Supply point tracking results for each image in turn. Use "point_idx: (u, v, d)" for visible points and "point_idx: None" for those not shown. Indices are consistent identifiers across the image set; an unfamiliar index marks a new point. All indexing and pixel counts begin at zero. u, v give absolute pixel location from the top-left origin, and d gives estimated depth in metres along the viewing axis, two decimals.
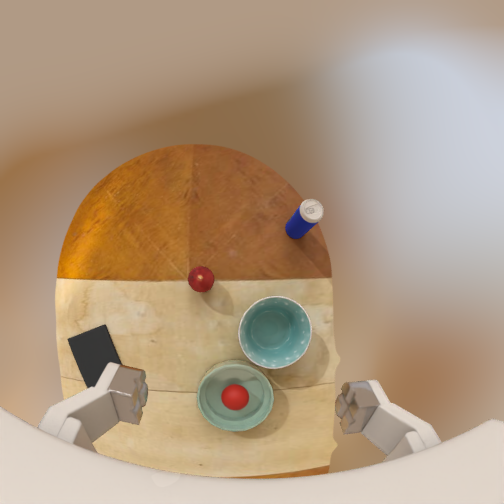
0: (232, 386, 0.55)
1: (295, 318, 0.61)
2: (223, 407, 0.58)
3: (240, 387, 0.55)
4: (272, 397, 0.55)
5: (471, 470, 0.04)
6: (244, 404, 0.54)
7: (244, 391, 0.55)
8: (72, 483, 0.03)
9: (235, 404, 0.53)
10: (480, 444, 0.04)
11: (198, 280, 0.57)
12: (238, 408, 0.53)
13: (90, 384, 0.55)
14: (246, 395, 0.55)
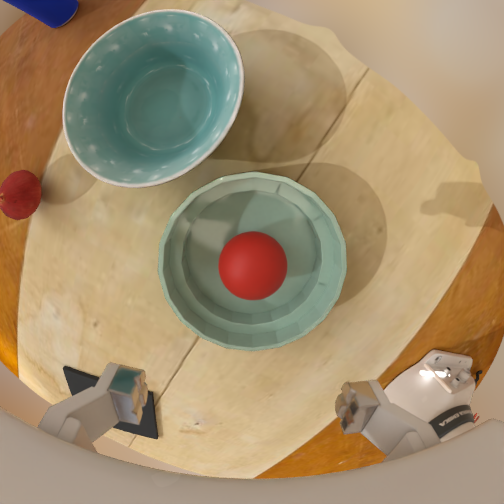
0: (221, 257, 0.24)
1: (166, 45, 0.19)
2: None
3: (233, 242, 0.24)
4: (305, 191, 0.22)
5: (471, 470, 0.04)
6: (276, 262, 0.23)
7: (247, 241, 0.23)
8: (72, 483, 0.03)
9: (260, 284, 0.23)
10: (480, 444, 0.04)
11: (3, 203, 0.19)
12: (277, 281, 0.23)
13: (141, 431, 0.37)
14: (258, 242, 0.23)
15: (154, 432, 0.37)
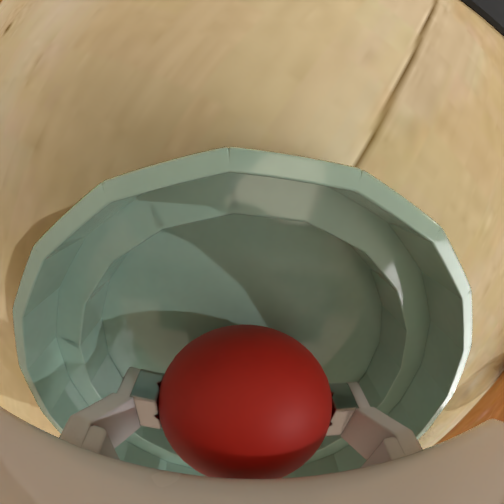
0: None
1: None
2: (191, 268, 0.11)
3: None
4: None
5: (471, 470, 0.04)
6: None
7: None
8: (72, 483, 0.03)
9: (228, 469, 0.06)
10: (480, 444, 0.04)
11: None
12: (181, 447, 0.07)
13: None
14: None
15: None
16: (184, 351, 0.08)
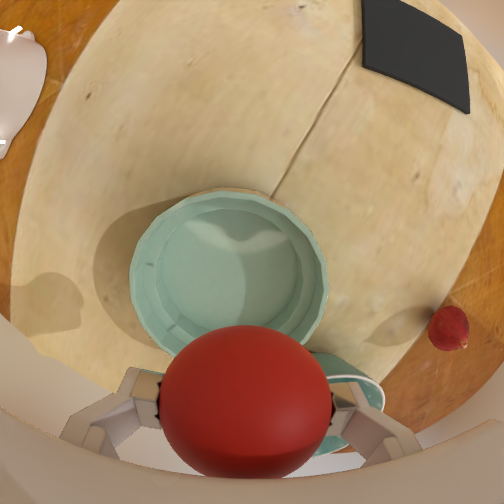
0: None
1: None
2: (206, 232, 0.26)
3: None
4: None
5: (471, 470, 0.04)
6: None
7: None
8: (72, 483, 0.03)
9: (228, 469, 0.06)
10: (480, 444, 0.04)
11: (462, 339, 0.24)
12: (181, 447, 0.07)
13: (384, 0, 0.18)
14: None
15: None
16: (184, 352, 0.08)
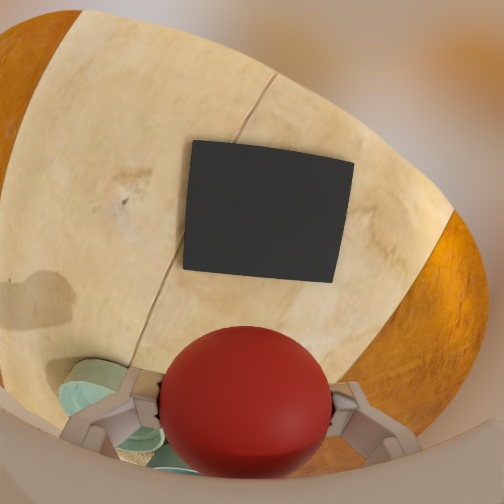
0: None
1: None
2: None
3: None
4: None
5: (471, 470, 0.04)
6: None
7: None
8: (72, 483, 0.03)
9: (228, 470, 0.06)
10: (480, 444, 0.04)
11: None
12: (181, 448, 0.07)
13: (221, 157, 0.25)
14: None
15: (194, 163, 0.25)
16: (184, 353, 0.08)
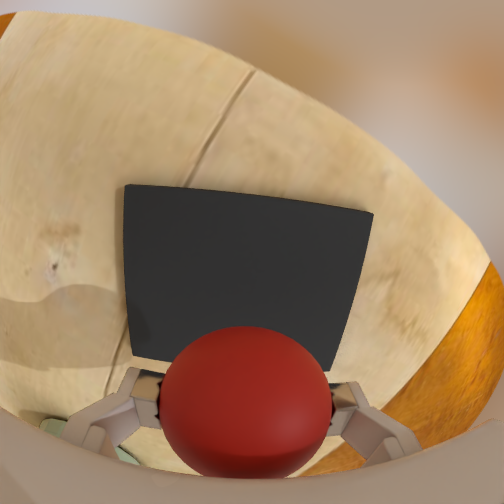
0: None
1: None
2: None
3: None
4: None
5: (471, 470, 0.04)
6: None
7: None
8: (72, 483, 0.03)
9: (228, 470, 0.06)
10: (480, 444, 0.04)
11: None
12: (181, 449, 0.07)
13: (165, 211, 0.16)
14: None
15: (129, 220, 0.16)
16: (184, 353, 0.08)
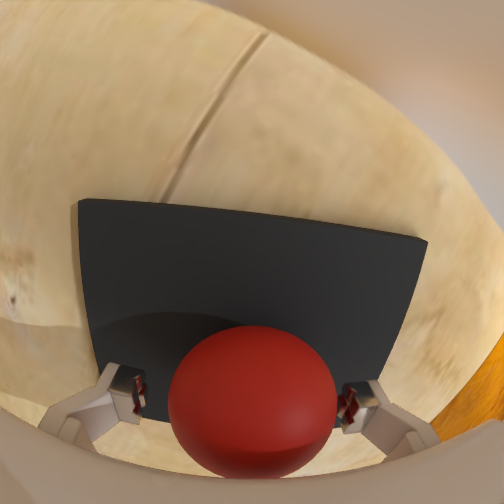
0: None
1: None
2: None
3: None
4: None
5: (471, 470, 0.04)
6: (207, 468, 0.07)
7: None
8: (72, 483, 0.03)
9: (245, 465, 0.06)
10: (480, 444, 0.04)
11: None
12: (196, 448, 0.07)
13: (134, 240, 0.10)
14: None
15: (86, 251, 0.10)
16: (193, 353, 0.09)
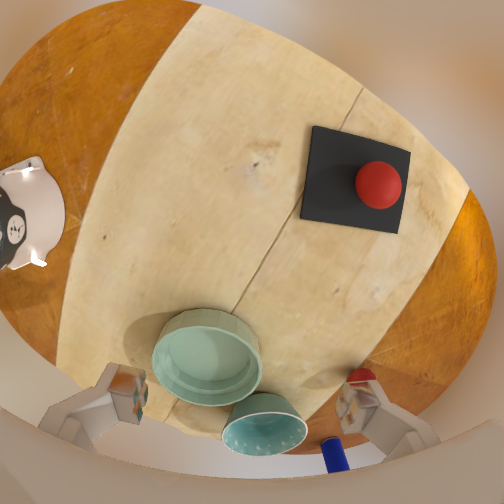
0: None
1: (260, 436, 0.46)
2: (193, 331, 0.41)
3: None
4: (186, 400, 0.40)
5: (471, 470, 0.04)
6: (382, 195, 0.30)
7: (388, 206, 0.32)
8: (72, 483, 0.03)
9: (394, 182, 0.29)
10: (480, 444, 0.04)
11: None
12: (382, 181, 0.29)
13: (332, 139, 0.34)
14: (385, 206, 0.32)
15: (315, 141, 0.34)
16: (367, 164, 0.31)
